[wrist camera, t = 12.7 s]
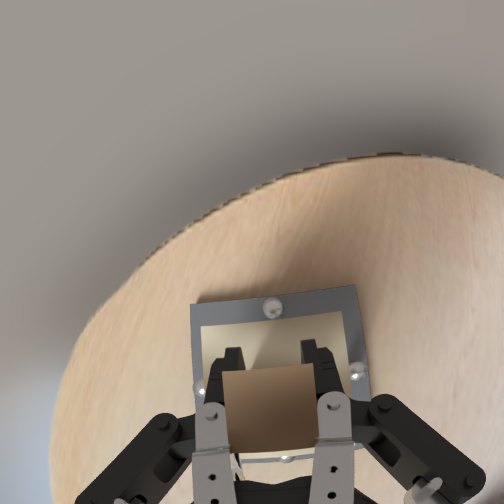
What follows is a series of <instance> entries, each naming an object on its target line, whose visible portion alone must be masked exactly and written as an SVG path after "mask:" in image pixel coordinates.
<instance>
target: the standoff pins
mask: <svg viewBox="0 0 504 504" xmlns="http://www.w3.org/2000/svg"><path fill="white" fill-rule="evenodd" d="M263 311H264V314H265V316H266V318H267V319H268V320H278V319H281V318H282V316H283V310H282V303H281V302H280V300H279V299H277V298H268V299H267V300H266V301H265V302H264V303H263ZM349 371H350V380H354V381H360V380H362V379H364V378H365V377H366V375H367V372H368V369H367V366H366V365H365V364H364V363H363V362H349ZM193 391H194V393H195V394H196V395H197V396H199V397H205V392H204V378H201V379H197V380H196V381H195V382H194V383H193ZM295 458H296V456H287V457H277V459H278V460H279V461H280V462H282V463H290V462H292V461H293V460H294V459H295Z"/></svg>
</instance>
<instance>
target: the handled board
mask: <svg viewBox="0 0 504 504" xmlns="http://www.w3.org/2000/svg"><path fill="white" fill-rule="evenodd" d="M307 339H315V341H316V345H317V348H323V347H327V348H328V349H329V350H330V351H331V352H332V353H333V356H334V360H335V363H336V366H337V370H338V373H339V376H340V380H341V383H342V387H343V390H344V392H345V394H346V395H347V396H348V397H349V398H351V399H352V391H351V381H350V371H349V363H348V354H347V347H346V339H345V332H344V325H343V319H342V312H341V311H337V312H330V313H324V314H317V315H310V316H302V317H294V318H286V319H278V320H269V321H259V322H249V323H239V324H227V325H214V326H201V344H202V362H203V378H204V392H205V394H206V389H207V383H208V378H209V375H210V368H211V365H212V363H213V362H214V361H215V359H216V358H224V355H225V349H226V348H228V347H241V349H242V354H243V358H244V363H245V367H246V370H241V371H223V372H222V377H223V390H224V402H225V414H226V425H227V435H228V444H231V448H232V452H233V453H240V458H241V459H259V458H276V457H287V456H297V455H305V454H312V453H314V450H315V438H318V437H319V425H318V412H317V401H316V390H315V380H314V370H313V363H309V364H302V365H301V347H300V340H307ZM354 446H355V443H354Z"/></svg>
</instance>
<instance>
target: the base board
mask: <svg viewBox="0 0 504 504" xmlns="http://www.w3.org/2000/svg"><path fill="white" fill-rule="evenodd" d="M268 298H277V299H279V300H280V302H281V303H282V310H283V316H282V318H281V319H286V318H294V317H302V316H310V315H317V314H324V313H330V312H337V311H341V312H342V319H343V325H344V332H345V339H346V347H347V354H348V363H349V362H363V363H364V364H365V365H366V366H367V369H368V365H367V357H366V349H365V342H364V335H363V328H362V322H361V316H360V310H359V304H358V299H357V293H356V288H355V285H349V286H343V287H336V288H329V289H322V290H315V291H308V292H300V293H292V294H284V295H276V296H268V297H259V298H250V299H240V300H231V301H220V302H210V303H198V304H190V324H191V348H192V366H193V381H194V382H195V381H196V380H197V379H201V378H203V362H202V344H201V326H214V325H227V324H239V323H249V322H259V321H269V320H268V319H267V318H266V316H265V314H264V311H263V303H264V302H265V301H266V300H267V299H268ZM350 381H351V391H352V399H354V400H357V401H371V394H370V384H369V374H368V372H367V375H366V377H365V378H364V379H362V380H360V381H354V380H350ZM194 395H195V407H196V411H197V409H198V408H199V407H200V406H202V405H203V404H204V399H205V397H199V396H197V395H196V394H195V393H194ZM362 448H365V447H364V446H363V445H362V444H361V443H355V446H354V450H358V449H362ZM308 458H314V453H312V454H305V455H297V456H296V458H295V459H294V460H300V459H308ZM265 462H280V461H279V460H278V459H277V457H276V458H259V459H241V463H265Z"/></svg>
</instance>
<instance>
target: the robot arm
mask: <svg viewBox="0 0 504 504" xmlns="http://www.w3.org/2000/svg"><path fill="white" fill-rule="evenodd" d="M300 347H301V365H302V364H309V363H313V370H314V380H315V390H316V401H317V412H318V425H319V437H318V438H315V450H314V461H313V471H312V476H304V477H298V478H295V479H292V480H289V481H286V482H282V483H279V484H274V485H273V484H266V483H260V482H254V481H249V480H245V478H244V475H243V470H242V464H241V458H240V453H233V452H232V448H231V444H228V435H227V425H226V414H225V402H224V390H223V377H222V372H223V371H241V370H246V367H245V363H244V358H243V354H242V349H241V347H228V348H226V349H225V355H224V358H216V359H215V361H214V362H213V363H212V365H211V368H210V375H209V378H208V383H207V389H206V394H205V399H204V404H203V405H202V406H200V407H199V408H198V409H197V411H196V413H195V414H193V415H190V416H187V417H182V418H178V419H177V418H176V417H175V416H174V415H172V414H170V413H161V414H158V415H156V416H155V417H153V418H152V419H151V420H150V421H149V423H148V424H147V425H146V426H145V427H144V428H143V429H142V430H141V431H140V432H139V434H138V435H137V436H136V437H135V438H134V439H133V440H132V441H131V442H130V443H129V444H128V445H127V446H126V447H125V449H124V450H123V451H122V452H121V453H120V454H119V455H118V456H117V457H116V458H115V459H114V460H113V461H112V462H111V463H110V464H109V465H108V466H107V467H106V468H105V470H104V471H103V472H102V473H101V474H100V475H99V476H98V477H97V478H96V479H95V480H94V481H93V482H92V483H91V484H90V485H89V486H88V487H87V488H86V489H85V490H84V491H83V492H82V493H81V494H80V495H79V496H78V497H77V498H76V500H75V504H159V502H160V501H161V500H162V499H163V497H164V496H165V495H166V494H167V493H168V491H169V490H170V489H171V488H172V486H173V485H174V484H175V483H176V481H177V480H178V479H179V477H180V476H181V475H182V474H183V472H184V471H185V470H186V468H187V467H188V466H189V464H190V463H191V462H192V476H193V496H194V501H193V502H192V503H191V504H378V503H376V502H375V501H373V500H372V499H370V498H369V497H367V496H366V495H364V494H363V493H362V492H360V491H359V490H357V489H356V488H354V443H361V444H362V445H363V446H364V447H365V448H366V449H367V450H368V451H369V453H370V454H371V455H372V456H373V457H374V458H375V459H376V460H377V461H378V462H379V463H380V464H381V465H382V466H383V467H384V468H385V469H386V470H387V471H388V472H389V473H390V474H391V475H392V476H393V477H394V478H395V479H396V480H397V481H398V482H399V483H400V484H401V485H402V486H403V487H404V488H405V489H406V490H407V492H406V494H405V496H404V504H463V503H465V502H466V501H468V500H469V499H471V498H472V497H474V496H475V495H476V494H478V493H479V492H480V491H481V490H482V489H483V487H484V485H485V482H486V475H485V472H484V471H483V469H482V468H480V467H479V466H478V465H477V464H475V463H474V462H473V461H472V460H470V459H469V458H468V457H467V456H465V455H464V454H463V453H462V452H461V451H459V450H458V449H457V448H456V447H454V446H453V445H452V444H451V443H450V442H448V441H447V440H446V439H445V438H444V437H442V436H441V435H440V434H439V433H438V432H436V431H435V430H434V429H433V428H432V427H430V426H429V425H428V424H427V423H426V422H424V421H423V420H422V419H421V418H420V417H418V416H417V415H416V414H415V413H414V412H412V411H411V410H410V409H409V408H408V407H407V406H405V405H404V404H403V403H402V402H401V401H399V400H398V399H397V398H396V397H394V396H392V395H389V394H381V395H378V396H376V397H374V398H373V399H372V400H371V401H357V400H354V399H351V398H349V397H348V396H347V395H346V394H345V392H344V390H343V387H342V383H341V380H340V376H339V373H338V370H337V366H336V363H335V360H334V356H333V353H332V352H331V351H330V350H329V349H328V348H327V347H323V348H317V345H316V341H315V339H307V340H300Z"/></svg>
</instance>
